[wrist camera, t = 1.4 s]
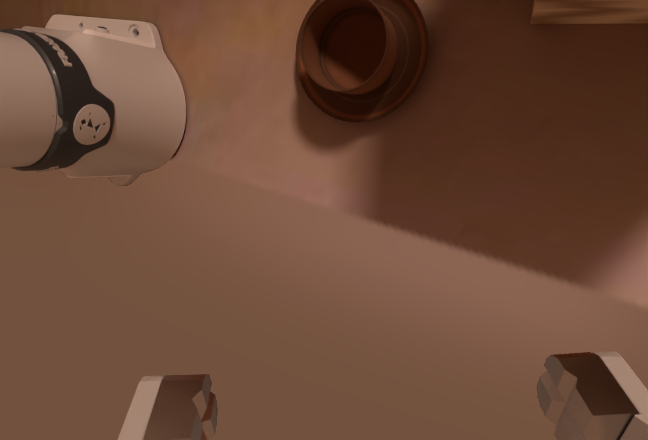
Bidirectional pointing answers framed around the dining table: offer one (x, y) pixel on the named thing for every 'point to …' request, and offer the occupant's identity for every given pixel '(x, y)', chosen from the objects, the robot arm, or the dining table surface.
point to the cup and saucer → (361, 56)
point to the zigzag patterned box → (589, 12)
